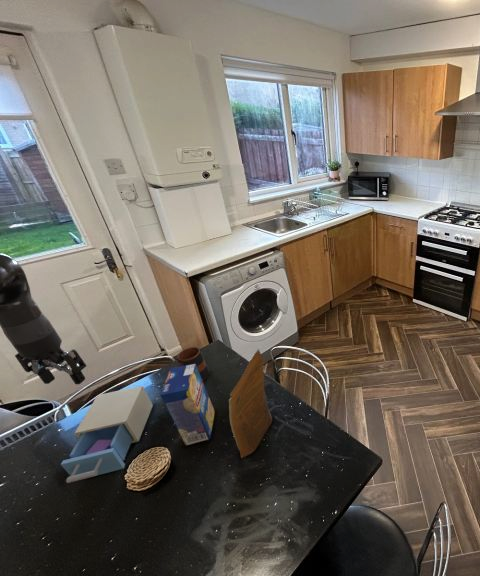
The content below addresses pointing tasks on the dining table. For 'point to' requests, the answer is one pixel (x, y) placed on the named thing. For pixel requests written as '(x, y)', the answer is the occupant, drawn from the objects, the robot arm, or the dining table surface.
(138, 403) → the cabinet
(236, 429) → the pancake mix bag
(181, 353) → the mug
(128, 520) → the dining table surface
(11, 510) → the dining table surface
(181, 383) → the blue cereal box
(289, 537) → the dining table surface
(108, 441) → the block
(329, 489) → the dining table surface
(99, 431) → the drawer
